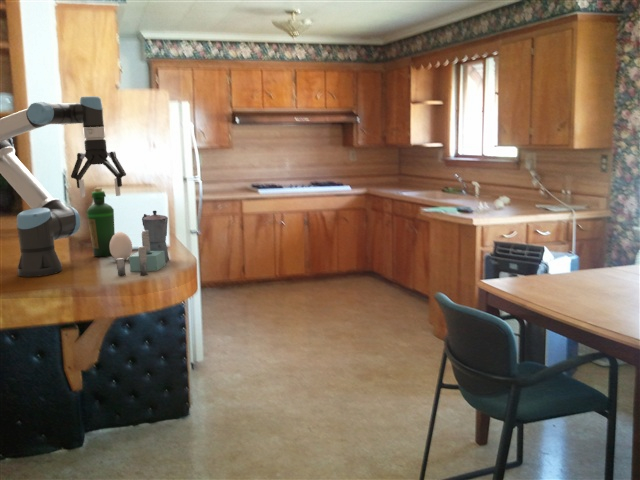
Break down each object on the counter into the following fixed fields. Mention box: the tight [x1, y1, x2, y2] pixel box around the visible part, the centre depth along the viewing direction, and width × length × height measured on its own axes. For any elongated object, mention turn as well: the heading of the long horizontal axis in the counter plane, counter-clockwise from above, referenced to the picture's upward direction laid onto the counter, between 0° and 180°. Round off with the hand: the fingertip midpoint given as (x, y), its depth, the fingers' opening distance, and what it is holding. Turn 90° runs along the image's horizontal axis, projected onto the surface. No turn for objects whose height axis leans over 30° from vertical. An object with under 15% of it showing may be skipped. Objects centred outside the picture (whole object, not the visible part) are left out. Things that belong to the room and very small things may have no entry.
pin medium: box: [137, 245, 149, 276], centre depth 228 cm, size 3×3×10 cm
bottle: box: [86, 187, 116, 258], centre depth 267 cm, size 11×11×28 cm
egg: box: [109, 231, 133, 261], centre depth 256 cm, size 9×9×11 cm
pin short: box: [115, 258, 126, 277], centre depth 229 cm, size 3×3×6 cm
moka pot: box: [141, 210, 170, 263], centre depth 251 cm, size 10×15×20 cm, turn 53°
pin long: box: [140, 229, 151, 255], centre depth 239 cm, size 3×3×14 cm
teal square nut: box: [128, 251, 166, 272], centre depth 239 cm, size 10×10×6 cm
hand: (100, 196), depth 242 cm, fingers open, 13 cm apart
